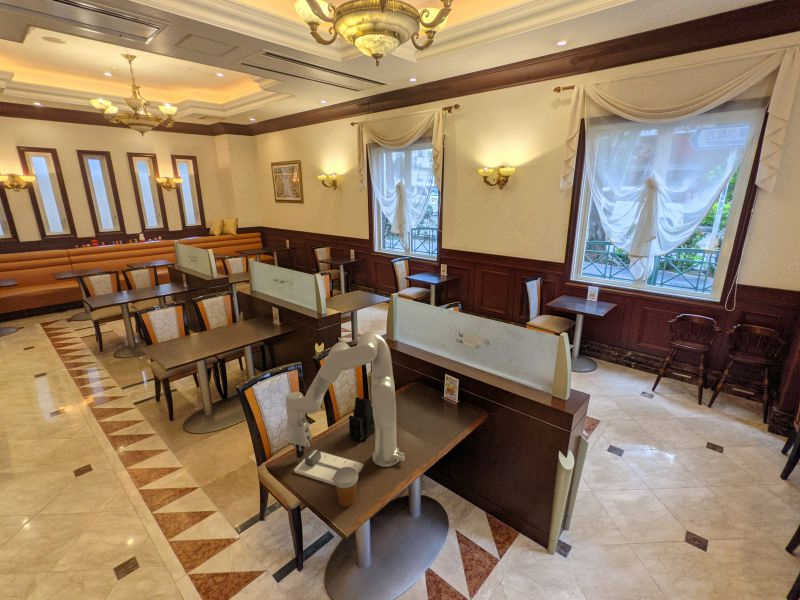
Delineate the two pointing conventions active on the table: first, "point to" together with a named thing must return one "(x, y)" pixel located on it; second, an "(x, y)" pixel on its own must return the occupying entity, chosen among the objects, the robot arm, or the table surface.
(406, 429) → the table surface
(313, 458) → the fader knob
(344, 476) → the disposable coffee cup
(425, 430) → the table surface
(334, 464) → the fader console
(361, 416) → the camera
